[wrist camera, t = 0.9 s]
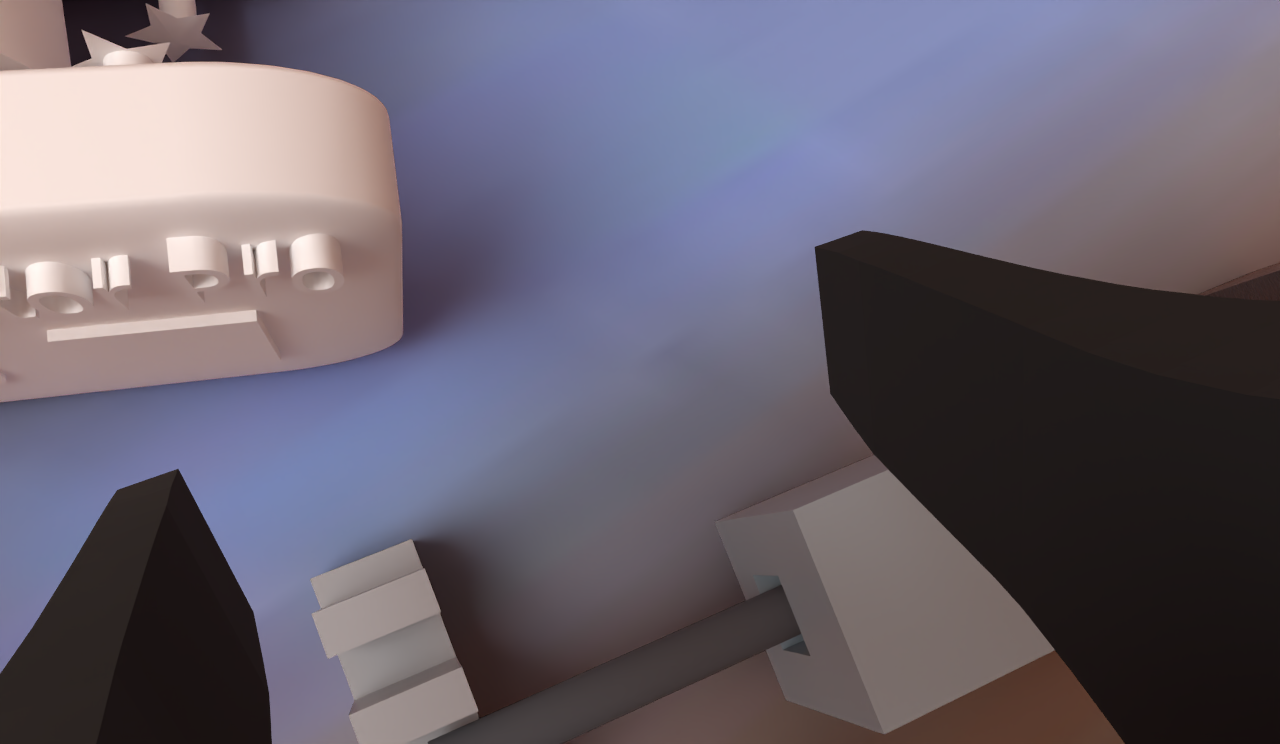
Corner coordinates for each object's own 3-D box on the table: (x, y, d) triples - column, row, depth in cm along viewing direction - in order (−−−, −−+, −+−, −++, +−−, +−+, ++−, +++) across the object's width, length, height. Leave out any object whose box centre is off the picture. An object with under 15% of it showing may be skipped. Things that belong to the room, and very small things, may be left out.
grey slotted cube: (786, 700, 23) (883, 734, 19) (714, 521, 24) (793, 510, 19) (945, 624, 24) (1077, 638, 20) (874, 454, 25) (987, 427, 20)
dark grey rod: (467, 841, 22) (480, 893, 18) (402, 665, 22) (401, 683, 18) (1295, 452, 27) (1428, 434, 23) (1233, 313, 27) (1354, 276, 24)
